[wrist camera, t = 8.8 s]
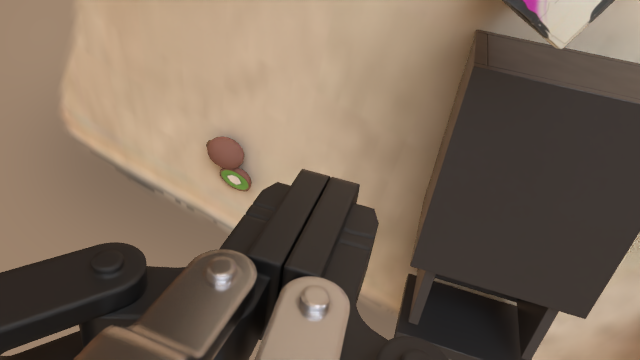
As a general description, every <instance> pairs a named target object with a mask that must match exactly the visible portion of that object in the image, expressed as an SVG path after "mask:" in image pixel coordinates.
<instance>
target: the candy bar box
mask: <svg viewBox="0 0 640 360" xmlns="http://www.w3.org/2000/svg"><path fill="white" fill-rule="evenodd" d="M502 1H503V2H504V3H505V4H506V5H507V6H509V7H510V8H511V9H512V10H513V11H514V12H515V13H516V14H517V15H518V16H520V17H521V18H522V19H523V20H524V21H525V22H526V23H528V24H529V25H530V26H531V27H532V28H533V29H534V30H535V31H536V32H538V33H539V34H540V35H541V36H542V37H543V38H544V39H545V40H547V41H548V42H549V43H550V44H551V45H552V46H553V47H555V48H557V49H563V48H564V47H565V46H566V45H567V44H568V43H569V42H570V41H571V40H573V39H574V38H575V37H576V36H577V35H578V34H579V33H580V32H581V31H582V30H583V29H584V28H585V27H586V26H587V25H588V24H589V23H591V22H592V21H593V20H594V19H595V18H596V17H597V16H598V15H600V14H601V13H602V12H603V11H604V10H605V9H606V8H607V7H608V6H609V5H610V4H611V3H612V2H614V1H615V0H502Z"/></svg>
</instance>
